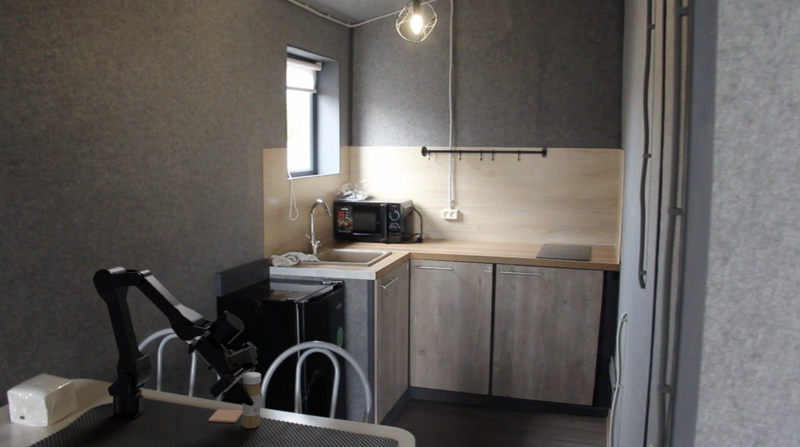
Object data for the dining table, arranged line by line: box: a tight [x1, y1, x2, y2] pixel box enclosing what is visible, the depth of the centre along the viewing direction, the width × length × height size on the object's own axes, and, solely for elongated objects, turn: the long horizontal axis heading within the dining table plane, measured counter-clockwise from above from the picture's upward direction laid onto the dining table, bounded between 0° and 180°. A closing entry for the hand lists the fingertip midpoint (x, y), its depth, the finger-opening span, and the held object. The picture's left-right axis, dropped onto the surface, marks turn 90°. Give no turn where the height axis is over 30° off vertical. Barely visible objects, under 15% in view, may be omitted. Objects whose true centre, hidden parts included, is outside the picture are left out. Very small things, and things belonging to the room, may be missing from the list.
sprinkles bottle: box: [241, 371, 262, 429], centre depth 152 cm, size 5×5×13 cm
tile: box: [208, 408, 243, 424], centre depth 157 cm, size 7×7×1 cm
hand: (256, 400), depth 152 cm, fingers open, 5 cm apart
